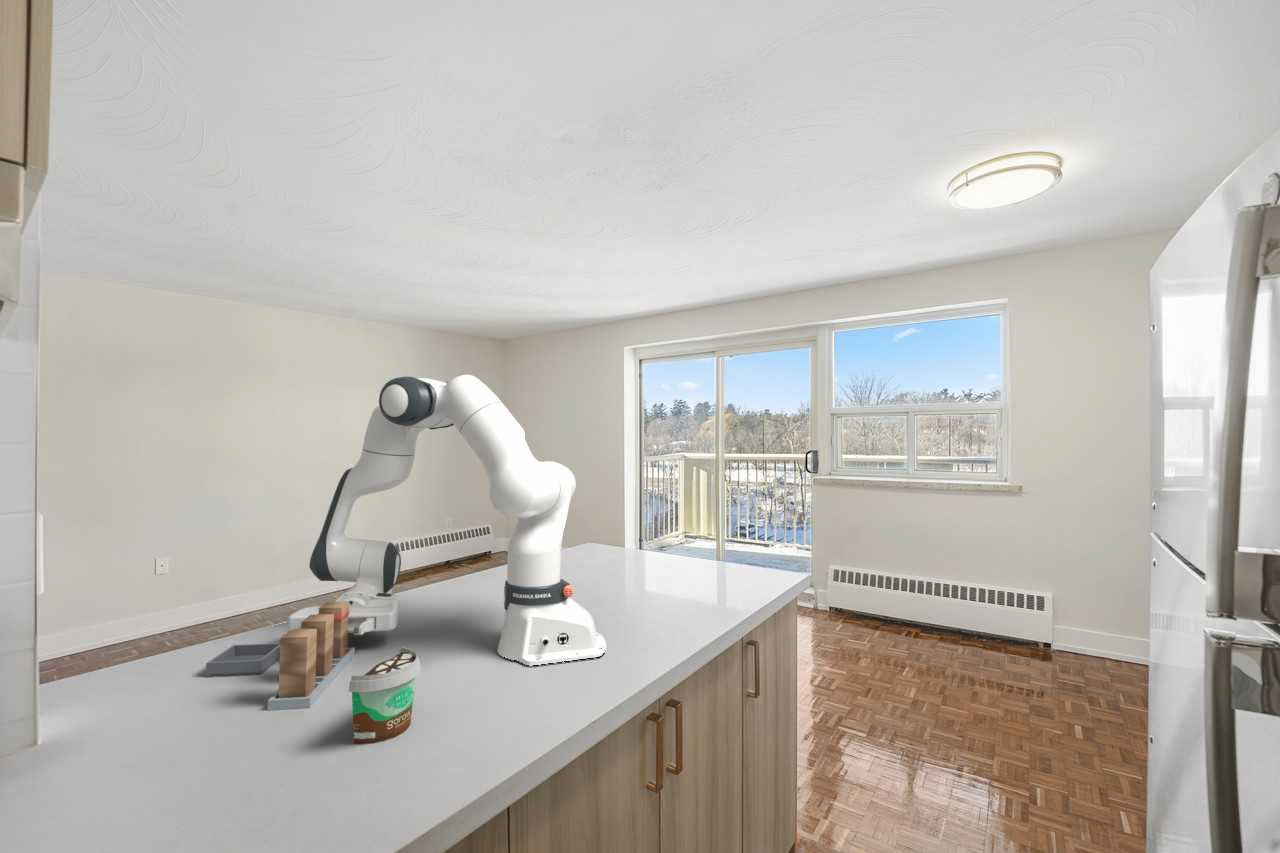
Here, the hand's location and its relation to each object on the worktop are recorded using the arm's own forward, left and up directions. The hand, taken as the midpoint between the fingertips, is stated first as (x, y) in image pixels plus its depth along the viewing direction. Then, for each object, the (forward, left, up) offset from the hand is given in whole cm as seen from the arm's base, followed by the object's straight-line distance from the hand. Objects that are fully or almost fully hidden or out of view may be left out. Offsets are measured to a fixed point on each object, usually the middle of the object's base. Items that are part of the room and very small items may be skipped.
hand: (331, 632), depth 108 cm
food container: (-18, +27, -6) cm, 33 cm away
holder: (0, +7, -6) cm, 9 cm away
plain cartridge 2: (0, +7, -6) cm, 9 cm away
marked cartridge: (0, -1, -6) cm, 6 cm away
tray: (+15, -1, -6) cm, 16 cm away
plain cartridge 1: (0, +15, -6) cm, 16 cm away
